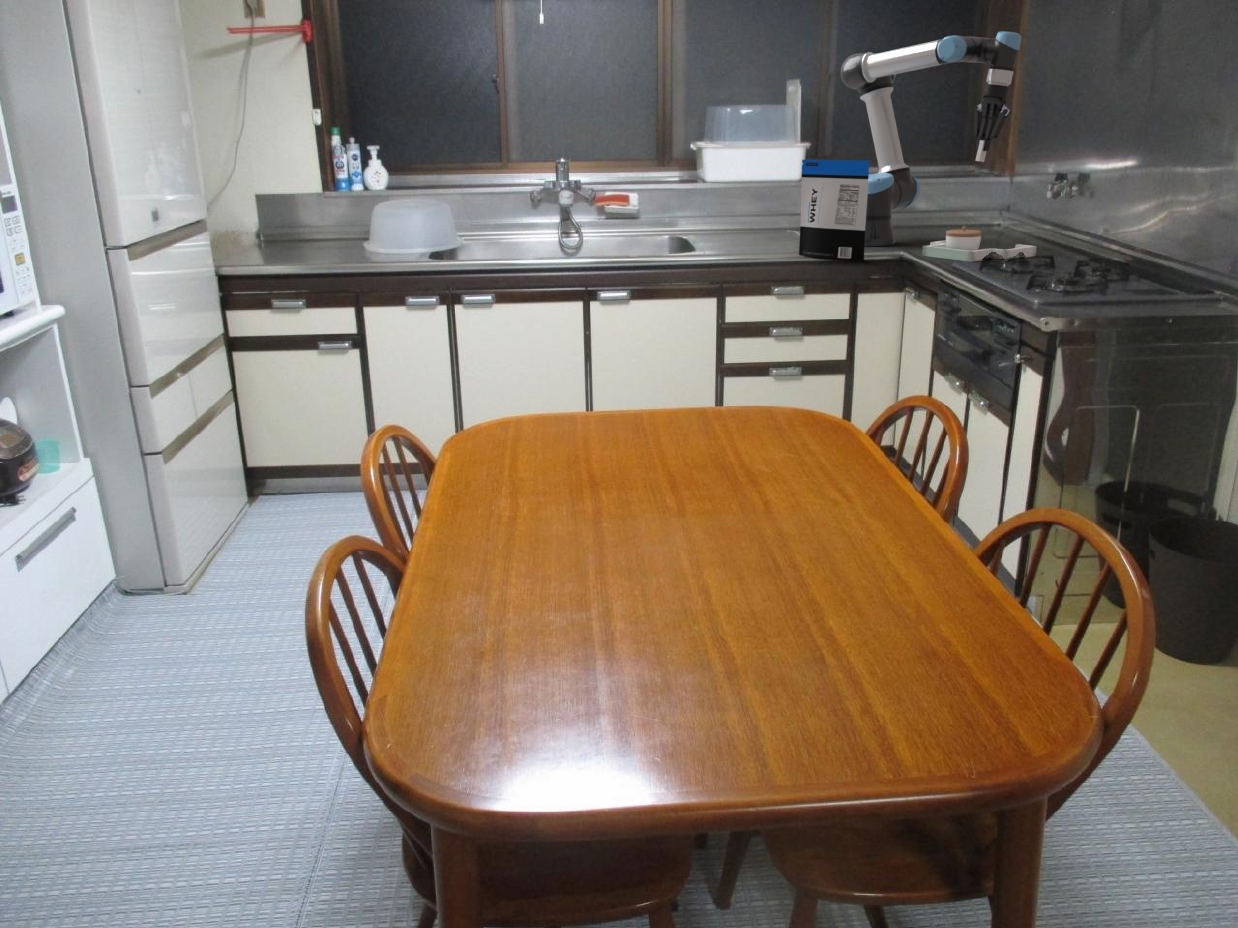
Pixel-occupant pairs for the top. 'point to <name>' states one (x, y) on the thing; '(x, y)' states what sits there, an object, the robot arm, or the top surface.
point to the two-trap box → (973, 252)
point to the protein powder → (833, 209)
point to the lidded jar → (963, 239)
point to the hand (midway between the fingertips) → (979, 161)
